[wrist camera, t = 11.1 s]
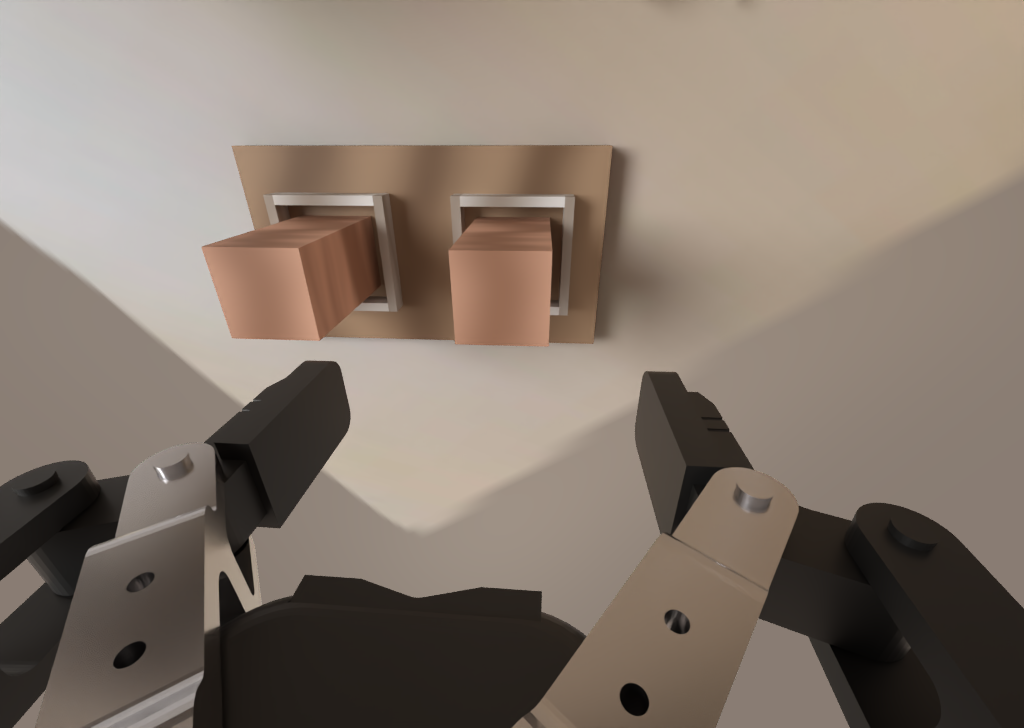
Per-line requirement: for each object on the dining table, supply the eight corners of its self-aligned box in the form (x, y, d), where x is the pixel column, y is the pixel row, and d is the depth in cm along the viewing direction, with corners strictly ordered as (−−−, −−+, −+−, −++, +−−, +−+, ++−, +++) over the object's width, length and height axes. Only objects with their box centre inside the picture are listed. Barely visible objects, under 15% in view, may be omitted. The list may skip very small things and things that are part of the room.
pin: (549, 217, 23) (552, 251, 16) (547, 288, 25) (548, 346, 18) (477, 216, 23) (448, 250, 16) (479, 287, 25) (455, 344, 18)
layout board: (609, 145, 23) (646, 148, 14) (591, 335, 28) (611, 417, 20) (245, 145, 24) (90, 149, 16) (293, 328, 29) (195, 402, 21)
